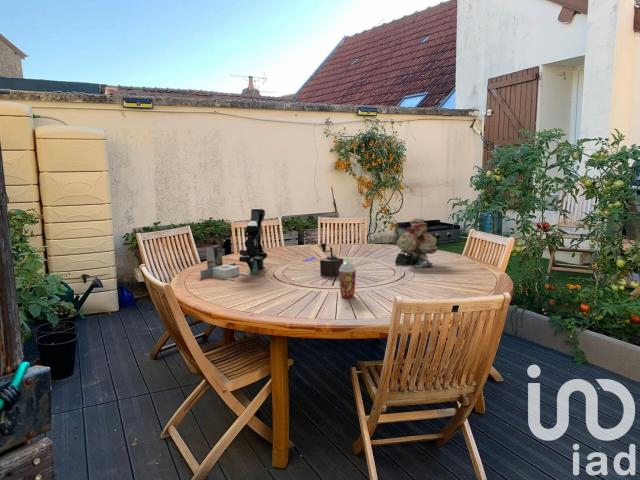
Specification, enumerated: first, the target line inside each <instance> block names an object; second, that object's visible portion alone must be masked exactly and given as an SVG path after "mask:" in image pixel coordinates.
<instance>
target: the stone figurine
mask: <svg viewBox="0 0 640 480" xmlns="http://www.w3.org/2000/svg"><path fill="white" fill-rule="evenodd" d="M425 221H426V219H424V218H421V219H420V218H413V219H412V220H408V222H409V224H410V226H408V227H406V229H407V231H406V232H404V233H402V234H401V236H400V237H398V238H397V240H396V243H395V245H396V246H397V247H398V248H399V250H400V252H398V253H397V255H396V257H395V262H394V264H395V266H396V267H410V268H422V267H430V268H433V267H434V265H433V262H430V261H429V258H428V255H427V254H430V255H434V254H436V253H437V252H438V247H437V246H436V245H437V243H436V242H437V238H436V237H435V236H433V235H432V234H431V233H427V232H428V227H427V225H428V223H427V222H425Z"/></svg>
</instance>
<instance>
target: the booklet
mask: <svg viewBox="0 0 640 480" xmlns="http://www.w3.org/2000/svg"><path fill="white" fill-rule="evenodd" d="M313 260H318V257H313V256H312V257H309V258H306V259H302V261H304V262H311V261H313Z"/></svg>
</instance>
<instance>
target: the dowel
mask: <svg viewBox="0 0 640 480" xmlns="http://www.w3.org/2000/svg"><path fill="white" fill-rule="evenodd" d="M251 275H253V276H254V275H258V270H257V261H254V264H253V271H252V272H251V271H250V276H251Z"/></svg>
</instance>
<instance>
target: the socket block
mask: <svg viewBox="0 0 640 480" xmlns="http://www.w3.org/2000/svg"><path fill="white" fill-rule="evenodd" d="M239 273H240V266H237V265H236V266H232V265H225V264H223V266H219V267H215V268H213V275H215V276H221V277H226V278H232V277H236V276H240V275H239Z"/></svg>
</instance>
